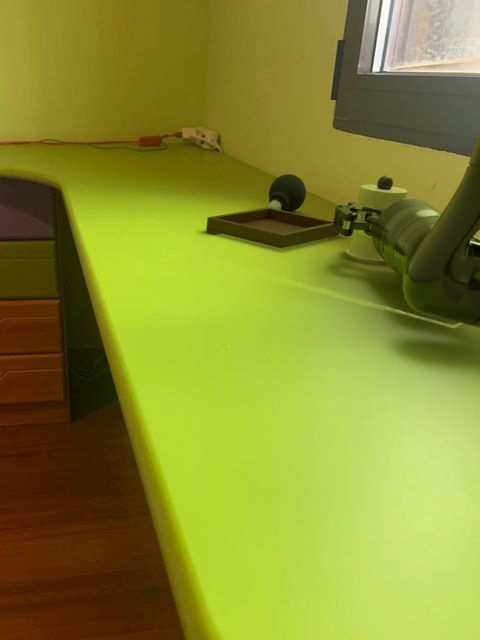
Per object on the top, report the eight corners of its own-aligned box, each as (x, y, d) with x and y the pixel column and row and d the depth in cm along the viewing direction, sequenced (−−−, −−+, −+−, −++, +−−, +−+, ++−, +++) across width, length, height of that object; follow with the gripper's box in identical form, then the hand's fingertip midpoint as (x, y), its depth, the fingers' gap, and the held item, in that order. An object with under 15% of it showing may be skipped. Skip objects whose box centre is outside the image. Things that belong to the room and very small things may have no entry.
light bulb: (255, 189, 115) (282, 162, 120) (249, 221, 120) (276, 194, 125) (289, 203, 113) (315, 175, 118) (282, 235, 118) (308, 207, 123)
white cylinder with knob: (360, 249, 99) (375, 170, 94) (402, 259, 95) (421, 177, 90) (336, 256, 95) (351, 173, 90) (380, 266, 91) (398, 181, 86)
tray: (266, 221, 114) (268, 207, 113) (338, 237, 106) (341, 222, 105) (205, 232, 103) (207, 217, 102) (280, 251, 96) (283, 235, 94)
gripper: (490, 210, 74) (443, 186, 88) (357, 200, 74) (332, 178, 89) (471, 278, 78) (429, 245, 92) (344, 269, 78) (322, 237, 92)
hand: (381, 212), depth 90 cm, fingers open, 8 cm apart
